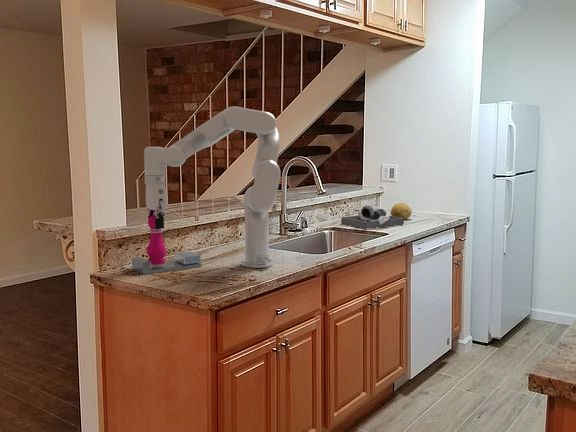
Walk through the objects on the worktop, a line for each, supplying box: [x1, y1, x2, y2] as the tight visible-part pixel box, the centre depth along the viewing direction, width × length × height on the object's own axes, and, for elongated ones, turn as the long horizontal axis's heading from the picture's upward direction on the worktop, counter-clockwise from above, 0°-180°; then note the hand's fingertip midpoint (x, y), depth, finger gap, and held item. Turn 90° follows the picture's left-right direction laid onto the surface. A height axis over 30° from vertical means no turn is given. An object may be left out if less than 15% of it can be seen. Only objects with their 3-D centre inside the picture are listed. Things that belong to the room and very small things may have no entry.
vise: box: [131, 256, 203, 276], centre depth 229 cm, size 11×24×4 cm, turn 126°
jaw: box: [173, 250, 201, 264], centre depth 234 cm, size 9×7×3 cm
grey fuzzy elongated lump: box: [357, 205, 391, 225], centre depth 337 cm, size 25×10×10 cm, turn 26°
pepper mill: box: [146, 212, 167, 265], centre depth 225 cm, size 7×7×20 cm
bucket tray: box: [340, 215, 405, 230], centre depth 339 cm, size 21×29×4 cm
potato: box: [390, 202, 413, 220], centre depth 360 cm, size 10×12×10 cm
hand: (156, 226), depth 224 cm, fingers closed on pepper mill, 6 cm apart
